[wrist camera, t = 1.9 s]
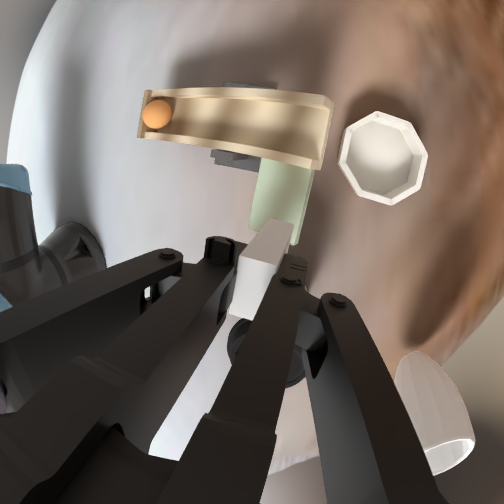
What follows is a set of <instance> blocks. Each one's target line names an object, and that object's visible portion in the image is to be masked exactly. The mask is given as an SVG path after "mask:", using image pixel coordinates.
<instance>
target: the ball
mask: <svg viewBox="0 0 504 504" xmlns="http://www.w3.org/2000/svg"><path fill="white" fill-rule="evenodd" d="M171 116H172V110H171V107H170V106H169V104H168V103H166V102H165V101H162V100H154V101H152V102H150V103H148V104H147V105H146V106H145V108H144V110H143V113H142V118H143V121H144V123H145V124H146V125H147V126H148V127H151V128H161V127H163V126H165V125H166V124H167V123H168V122H169V121H170V119H171Z"/></svg>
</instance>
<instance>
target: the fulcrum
mask: <svg viewBox="0 0 504 504" xmlns="http://www.w3.org/2000/svg"><path fill="white" fill-rule="evenodd" d="M224 87H232V88H258V89H273V90H277V89H275V88H268V87H261V86H253V85H247V84H240V83H229V82H224ZM210 157H214V158H215V163H214V164H217V165H223V166H228V167H234V168H239V169H244V170H249V171H254V172H259V168H260V163H261V157H257V156H252V155H247V154H242V153H237V152H232V151H227V150H222V149H217V150H211V156H210Z"/></svg>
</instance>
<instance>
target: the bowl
mask: <svg viewBox="0 0 504 504" xmlns="http://www.w3.org/2000/svg"><path fill="white" fill-rule="evenodd" d="M427 158H428V155H427V152H426V150H425V148H424V146H423V144H422V142H421V140H420V139H419V137H418V135H417V133H416V131H415V130H414V128H413V126H412V124H411V123H410V122H408V121H405V120H402V119H400V118H397V117H394V116H391V115H388V114H385V113H382V112H379V111H375V112H373V113H372V114H370V115H368V116H366V117H364V118H363V119H361V120H359V121H357V122H356V123H354V124H352V125H350V126H349V127H347V128H346V129H345V130H344V131H343V135H342V140H341V144H340V149H339V154H338V158H337V162H338V163H337V164H338V166H339V167H340V169H341V171H342V172H343V174H344V176H345V177H346V179H347V181H348V182H349V184H350V186H351V187H352V189H353V191H354V192H355V193H356V194H357V195H358V196H361V197H365V198H368V199H371V200H375V201H378V202H381V203H384V204H387V205H394V204H395V203H397V202H399V201H401V200H402V199H404V198H406V197H407V196H409V195H411V194H412V193H414V192H416V191H418V190H419V188H420V187H421V184H422V179H423V175H424V171H425V167H426V162H427Z"/></svg>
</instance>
